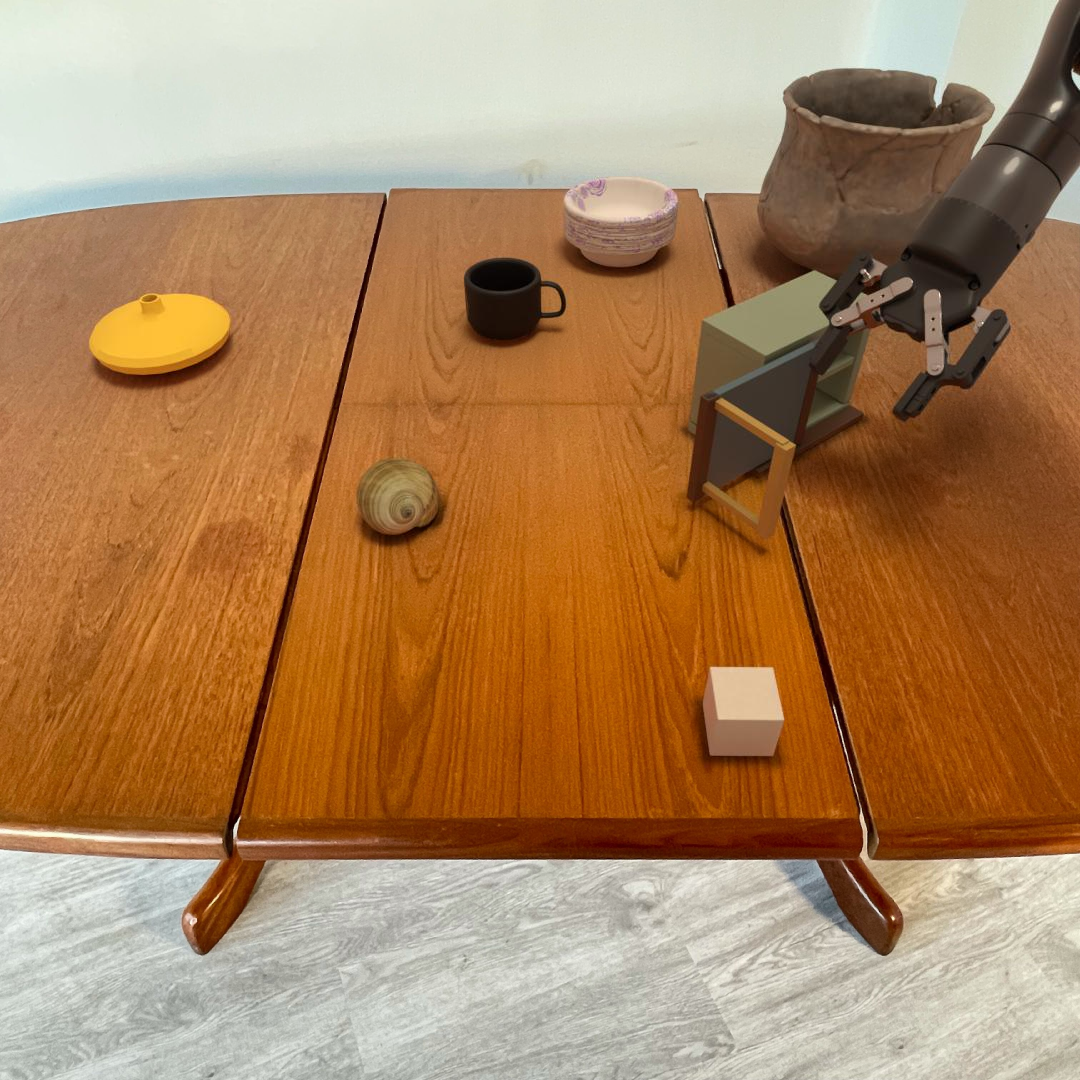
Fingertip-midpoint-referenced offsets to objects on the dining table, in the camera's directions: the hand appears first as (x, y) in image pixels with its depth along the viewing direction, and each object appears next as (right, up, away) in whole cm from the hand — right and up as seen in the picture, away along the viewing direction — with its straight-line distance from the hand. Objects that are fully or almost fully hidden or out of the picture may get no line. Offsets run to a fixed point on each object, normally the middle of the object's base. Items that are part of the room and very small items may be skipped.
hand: (855, 393), depth 73 cm
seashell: (-40, -10, +10) cm, 42 cm away
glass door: (-4, -7, +10) cm, 13 cm away
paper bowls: (-15, +27, +48) cm, 58 cm away
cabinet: (-2, 0, +20) cm, 20 cm away
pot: (+14, +25, +45) cm, 53 cm away
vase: (-70, +10, +31) cm, 77 cm away
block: (-12, -26, -8) cm, 30 cm away
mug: (-29, +13, +34) cm, 47 cm away
